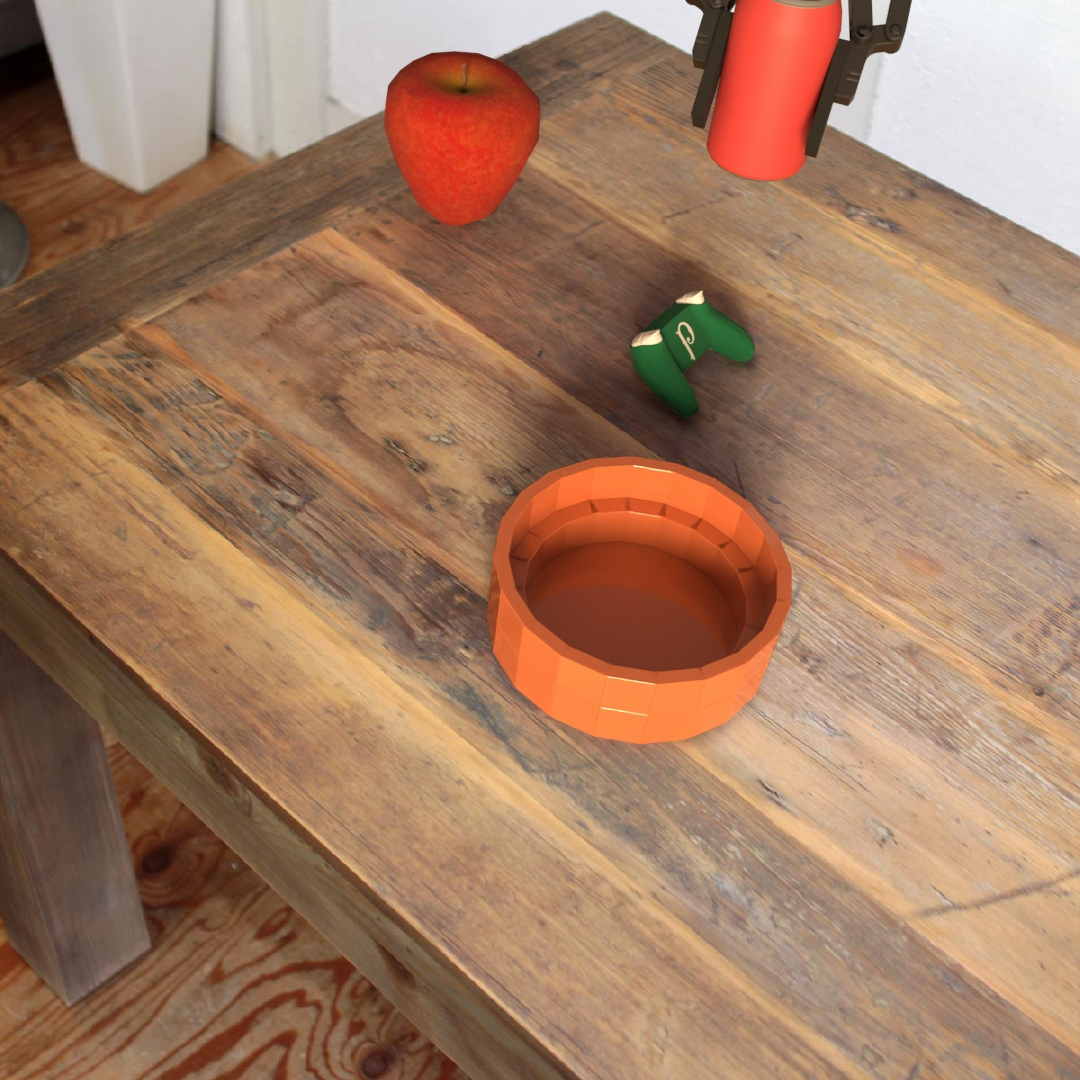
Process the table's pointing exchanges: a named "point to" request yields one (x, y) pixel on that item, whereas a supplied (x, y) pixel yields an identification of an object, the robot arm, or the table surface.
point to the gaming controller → (685, 348)
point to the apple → (460, 132)
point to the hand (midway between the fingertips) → (754, 135)
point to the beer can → (772, 85)
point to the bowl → (636, 598)
